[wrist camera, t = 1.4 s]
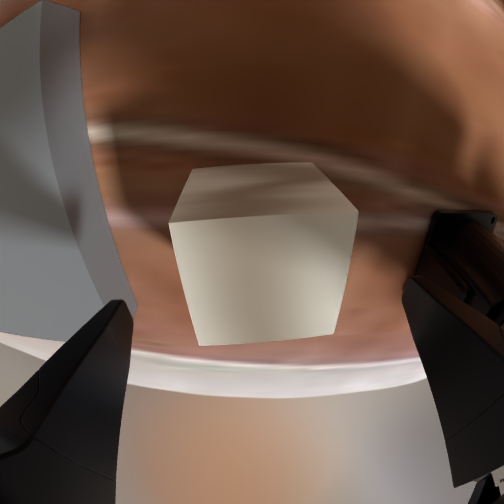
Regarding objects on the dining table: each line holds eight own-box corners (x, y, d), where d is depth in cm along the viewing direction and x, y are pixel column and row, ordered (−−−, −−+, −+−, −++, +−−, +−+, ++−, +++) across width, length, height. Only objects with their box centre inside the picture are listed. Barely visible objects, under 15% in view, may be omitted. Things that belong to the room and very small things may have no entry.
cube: (311, 161, 11) (358, 211, 7) (305, 258, 14) (333, 333, 10) (192, 168, 11) (168, 223, 7) (206, 265, 14) (199, 345, 10)
